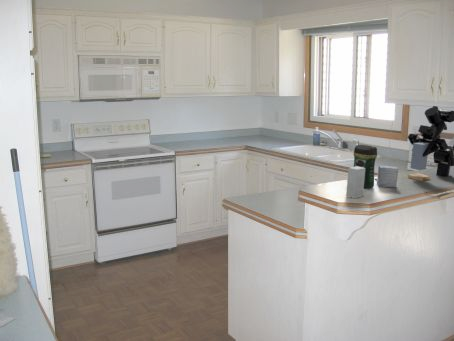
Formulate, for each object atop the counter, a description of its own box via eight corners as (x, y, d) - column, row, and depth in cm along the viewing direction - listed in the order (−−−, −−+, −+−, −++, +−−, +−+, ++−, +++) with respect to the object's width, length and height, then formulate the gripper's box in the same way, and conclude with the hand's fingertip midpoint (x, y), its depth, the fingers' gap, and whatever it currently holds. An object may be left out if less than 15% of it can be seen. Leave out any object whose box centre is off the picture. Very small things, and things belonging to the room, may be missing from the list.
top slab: (416, 176, 240) (416, 173, 239) (429, 179, 234) (429, 176, 234) (407, 177, 236) (408, 174, 235) (421, 180, 230) (421, 177, 230)
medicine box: (394, 185, 222) (396, 166, 220) (396, 187, 218) (398, 168, 216) (376, 184, 223) (378, 165, 221) (378, 186, 219) (380, 167, 217)
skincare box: (354, 194, 204) (357, 165, 201) (362, 196, 201) (366, 167, 198) (345, 196, 200) (348, 167, 197) (354, 198, 197) (357, 169, 194)
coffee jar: (376, 187, 216) (381, 146, 212) (366, 190, 211) (371, 147, 207) (357, 183, 223) (361, 142, 219) (347, 185, 217) (351, 144, 213)
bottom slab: (415, 178, 241) (416, 175, 240) (430, 182, 234) (431, 179, 234) (406, 180, 236) (406, 177, 236) (421, 184, 230) (421, 181, 229)
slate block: (416, 167, 236) (419, 142, 233) (425, 169, 232) (429, 144, 230) (410, 168, 233) (413, 143, 231) (419, 170, 229) (422, 144, 227)
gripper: (412, 116, 237) (395, 140, 234) (447, 121, 222) (430, 147, 219) (420, 132, 243) (403, 155, 240) (455, 137, 228) (438, 163, 225)
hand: (418, 155), depth 231 cm, fingers closed on slate block, 5 cm apart
